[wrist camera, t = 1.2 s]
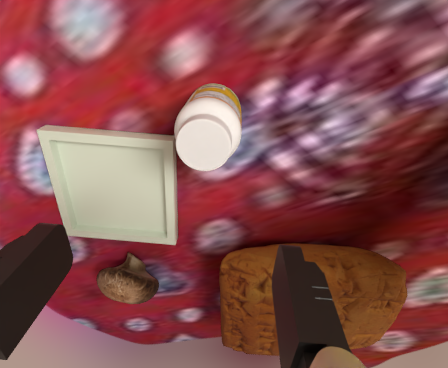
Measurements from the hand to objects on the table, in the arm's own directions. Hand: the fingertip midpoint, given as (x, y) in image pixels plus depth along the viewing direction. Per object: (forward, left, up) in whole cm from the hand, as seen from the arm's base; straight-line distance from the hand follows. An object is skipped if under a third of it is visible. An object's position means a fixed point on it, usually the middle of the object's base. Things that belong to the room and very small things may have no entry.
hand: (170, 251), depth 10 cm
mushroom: (+10, +23, -20) cm, 33 cm away
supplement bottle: (0, 0, -20) cm, 20 cm away
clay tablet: (-13, +22, -20) cm, 33 cm away
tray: (+11, +10, -20) cm, 25 cm away
